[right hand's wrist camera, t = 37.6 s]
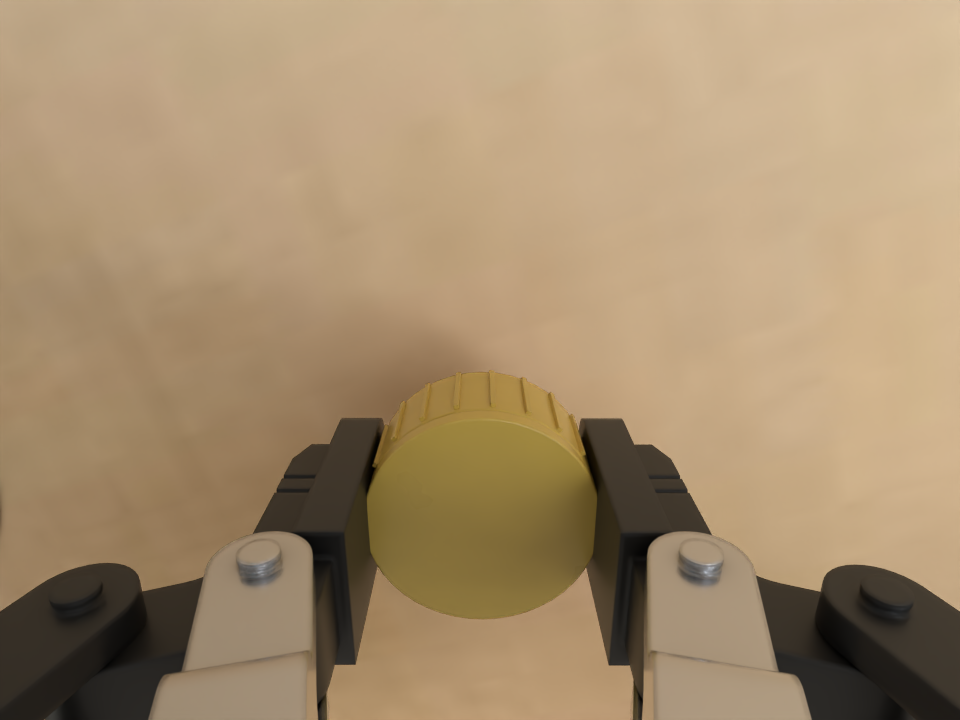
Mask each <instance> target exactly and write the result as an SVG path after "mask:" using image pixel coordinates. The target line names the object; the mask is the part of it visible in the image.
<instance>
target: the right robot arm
mask: <svg viewBox="0 0 960 720" xmlns="http://www.w3.org/2000/svg"><path fill="white" fill-rule="evenodd" d="M383 428H384V423H383V420H382V418H342V419H341V420H340V422H339V425H338V427H337V429H336V431H335V434H334V436H333V438H332V440H331V443H330V444H312V445H310V446H309V447H308V448H306V449H305V450H304V451H302V452H301V453H300V454H298V455H297V456H296V457H294V458H293V459H292V461H291V463H290V465H289V467H288V469H287V471H286V472H285V474H284V479H282V480H281V482H280V484H279V486H278V487H277V492H276V493H274V495H273V497H272V499H271V501H270V503H269V504H268V506H267V508H266V510H265V512H264V514H263V516H262V518H261V519H260V521H259V523H258V525H257V527H256V529H255V531H254V533H253V534H251V535H248V536H245V537H242V538H239V539H237V540H235V541H233V542H231V543H229V544H227V545H226V546H224V547H223V548H221V549H220V550H219V551H218V552H217V553H216V554H215V555H214V556H213V557H212V558H211V559H210V561H209V563H208V564H207V567H206V570H205V574H204V577H202V578H199V579H196V580H193V581H189V582H185V583H181V584H176V585H172V586H167V587H162V588H158V589H153V590H148V591H143V592H142V589H141V584H140V580H139V577H138V575H137V573H136V572H135V571H134V570H133V569H131V568H130V567H127V566H125V565H121V564H115V563H99V564H92V565H86V566H82V567H78V568H75V569H72V570H69V571H66V572H64V573H61V574H59V575H57V576H55V577H53V578H51V579H49V580H47V581H45V582H44V583H42V584H40V585H39V586H37V587H36V588H34V589H33V590H31V591H30V592H28V593H27V594H26V595H24V596H23V597H21V598H20V599H18V600H17V601H15V602H14V603H12V604H11V605H9V606H8V607H6V608H5V609H3V610H2V611H0V720H44V719H45V720H329V699H328V687H329V684H330V681H331V677H332V673H333V669H334V665H356V660H357V656H358V651H359V647H360V642H361V638H362V633H363V629H364V624H365V620H366V615H367V611H368V606H369V602H370V597H371V592H372V588H373V583H374V579H375V574H376V570H377V564H376V563H375V561H374V558H373V556H372V554H371V552H370V540H369V526H368V512H367V492H368V489H369V486H370V482H371V479H372V475H373V472H374V468H375V467H372V465H373V462H374V458H375V455H376V452H377V448H378V445H379V441H380V438H381V435H382V431H383ZM579 434H580V437H581V440H582V443H583V447H584V450H585V453H586V457H587V460H588V464H589V467H590V470H591V473H592V477H593V480H594V483H595V487H596V490H597V508H596V521H595V535H594V548H593V555H592V558H591V560H590V562H589V563H588V565H587V566H586V568H587V572H588V577H589V581H590V585H591V590H592V594H593V598H594V603H595V607H596V612H597V616H598V620H599V625H600V629H601V633H602V638H603V642H604V646H605V651H606V655H607V659H608V664H609V665H630V667H631V671H632V675H633V679H634V681H633V690H632V699H631V720H960V611H958V610H957V609H955V608H954V607H952V606H951V605H949V604H948V603H946V602H945V601H943V600H942V599H940V598H939V597H937V596H936V595H934V594H933V593H932V592H930V591H929V590H927V589H926V588H924V587H923V586H921V585H919V584H918V583H916V582H914V581H912V580H910V579H908V578H906V577H904V576H902V575H899V574H897V573H895V572H891V571H888V570H885V569H881V568H877V567H872V566H866V565H845V566H840V567H837V568H835V569H832V570H831V571H829V572H828V573H827V574H826V576H825V577H824V580H823V583H822V588H821V592H818V591H814V590H809V589H804V588H800V587H795V586H790V585H786V584H781V583H777V582H773V581H769V580H767V579H764V578H761V577H758V576H756V574H755V570H754V567H753V564H752V563H751V561H750V559H749V558H748V557H747V556H746V555H745V554H744V553H743V552H742V551H741V550H740V549H739V548H737V547H736V546H734V545H733V544H731V543H729V542H727V541H725V540H723V539H721V538H718V537H715V536H712V534H711V532H710V530H709V529H708V527H707V525H706V523H705V521H704V519H703V517H702V516H701V514H700V512H699V510H698V508H697V506H696V505H695V503H694V501H693V499H692V497H691V495H690V493H688V492H687V488H686V486H685V484H684V482H683V480H682V479H680V475H679V473H678V471H677V469H676V468H675V466H674V464H673V462H672V460H671V459H670V458H669V457H667V456H666V455H665V454H663V453H662V452H661V451H659V450H658V449H657V448H655V447H654V446H653V445H634V443H633V441H632V439H631V437H630V435H629V432H628V430H627V428H626V426H625V424H624V421H623V420H622V419H581V421H580V425H579Z"/></svg>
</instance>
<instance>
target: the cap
mask: <svg viewBox="0 0 960 720" xmlns="http://www.w3.org/2000/svg"><path fill="white" fill-rule="evenodd" d="M372 467H375V468H374V472H373V475H372V479H371V482H370V486H369V489H368V492H367V512H368V526H369V540H370V552H371V554H372V556H373V558H374V561H375V563H376V564H377V566H378V567H379V569H380V570H381V572H382V573H383V575H384V576H385V577H386V578H387V579H388V580H389V581H390V582H391V583H392V585H394V586H395V587H396V588H397V589H398V590H399V591H401V592H402V593H403V594H404V595H406V596H407V597H409V598H410V599H412V600H413V601H415V602H417V603H419V604H421V605H423V606H425V607H427V608H429V609H432V610H434V611H437V612H440V613H443V614H447V615H451V616H455V617H461V618H468V619H495V618H503V617H509V616H514V615H517V614H521V613H525V612H528V611H530V610H533V609H535V608H538V607H540V606H542V605H544V604H546V603H547V602H549V601H551V600H553V599H554V598H556V597H557V596H558V595H560V594H561V593H563V592H564V591H565V590H566V589H567V588H568V587H570V586H571V585H572V584H573V583H574V582H575V581H576V580H577V578H578V577H579V576H580V575H581V574H582V572H583V571H584V569H585V568H586V566H587V565H588V563H589V562H590V560H591V558H592V555H593V548H594V535H595V521H596V508H597V490H596V487H595V483H594V480H593V477H592V473H591V470H590V467H589V464H588V460H587V457H586V453H585V450H584V447H583V443H582V440H581V437H580V434H579V430H578V427H577V424H576V421H575V417H574V416H573V414H571V415H569V414H568V413H567V411H566V410H565V409H564V408H563V407H562V405H561V404H560V403H559V402H558V401H557V400H556V399H555V397H554V394H553V393H551V392H550V393H549V394H548V393H547V392H546V391H544V390H542V389H541V388H539V387H538V386H536V385H534V384H532V383H529V382H527V380H526V378H524V377H522V378H521V379H520V378H516V377H513V376H510V375H505V374H499V373H494V371H492V370H489V372H475V373H465V374H461V372H458V373H456V375H454V376H451V377H448V378H445V379H442V380H439V381H437V382H435V383H433V384H430V383H427V384H425V388H423V389H422V390H420V391H419V392H417V393H416V394H414V395H413V396H412V397H411V398H410V399H409V400H407V401H406V402H405V401H402V402H401V403H400V407H399V410H398V411H397V412H396V414H395V415H394V417H393V418H392V420H391V421H390V423H389V425H385V426H384V428H383V431H382V435H381V438H380V441H379V445H378V448H377V452H376V455H375V458H374V462H373V465H372Z"/></svg>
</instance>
